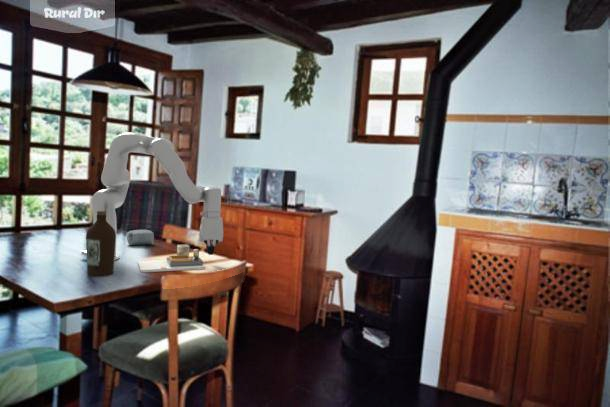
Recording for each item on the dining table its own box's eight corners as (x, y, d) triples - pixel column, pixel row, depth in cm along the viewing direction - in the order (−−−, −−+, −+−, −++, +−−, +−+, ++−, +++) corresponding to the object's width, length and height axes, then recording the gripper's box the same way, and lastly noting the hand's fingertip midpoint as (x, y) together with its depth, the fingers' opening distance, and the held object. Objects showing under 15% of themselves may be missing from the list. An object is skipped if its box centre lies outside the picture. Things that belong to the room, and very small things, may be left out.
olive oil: (101, 268, 175) (102, 209, 173) (121, 272, 172) (122, 211, 169) (79, 274, 166) (80, 211, 163) (99, 278, 162) (100, 213, 159)
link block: (178, 259, 200) (178, 246, 200) (176, 257, 204) (177, 244, 204) (189, 258, 202) (189, 246, 202) (187, 256, 207) (187, 244, 206)
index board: (140, 272, 173) (141, 269, 173) (137, 263, 188) (137, 260, 188) (204, 268, 185) (204, 266, 185) (196, 260, 199) (196, 258, 199)
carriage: (170, 266, 181) (170, 253, 181) (166, 260, 190) (167, 248, 190) (202, 264, 188) (203, 251, 187) (197, 259, 197) (198, 247, 196)
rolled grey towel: (126, 241, 218) (130, 223, 222) (123, 246, 226) (127, 229, 230) (153, 246, 224) (157, 229, 228) (149, 251, 231) (153, 234, 236)
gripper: (197, 215, 185) (195, 256, 187) (230, 215, 192) (228, 255, 194) (193, 213, 192) (192, 253, 194) (225, 213, 199) (224, 251, 200)
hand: (210, 254), depth 194 cm, fingers closed
